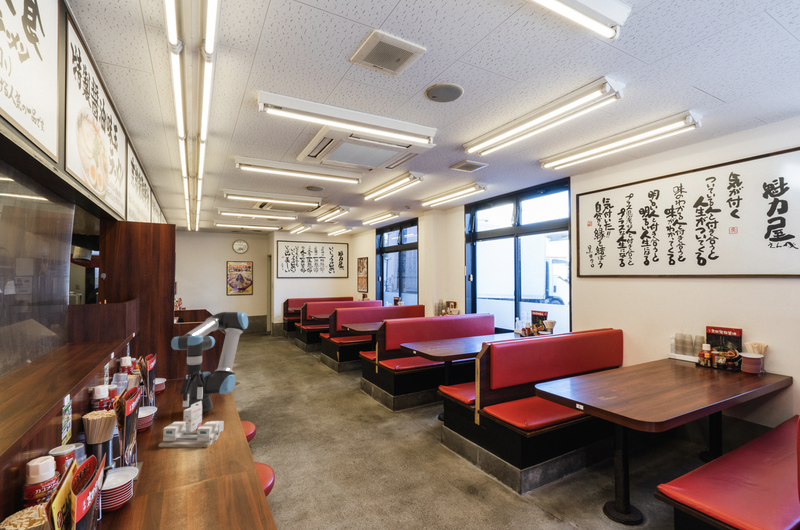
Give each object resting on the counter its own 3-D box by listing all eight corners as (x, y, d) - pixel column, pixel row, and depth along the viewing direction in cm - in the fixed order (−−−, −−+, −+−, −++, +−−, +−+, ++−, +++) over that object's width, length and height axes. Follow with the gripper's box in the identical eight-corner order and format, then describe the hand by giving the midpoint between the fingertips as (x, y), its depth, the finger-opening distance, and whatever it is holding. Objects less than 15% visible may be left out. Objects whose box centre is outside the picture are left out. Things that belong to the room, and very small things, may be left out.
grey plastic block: (211, 430, 201) (211, 420, 201) (223, 430, 201) (223, 420, 201) (206, 433, 196) (206, 424, 196) (219, 434, 196) (219, 424, 196)
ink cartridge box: (194, 426, 206) (195, 399, 207) (202, 426, 205) (202, 400, 206) (182, 432, 198) (183, 404, 198) (190, 433, 197) (191, 405, 197)
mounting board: (176, 435, 193) (176, 419, 194) (221, 435, 193) (221, 420, 194) (158, 447, 179) (159, 430, 180) (207, 447, 179) (207, 430, 180)
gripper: (200, 359, 215) (198, 395, 214) (173, 368, 191) (171, 410, 189) (212, 359, 215) (211, 396, 214) (187, 368, 191) (186, 410, 189)
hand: (192, 402), depth 202 cm, fingers open, 13 cm apart
